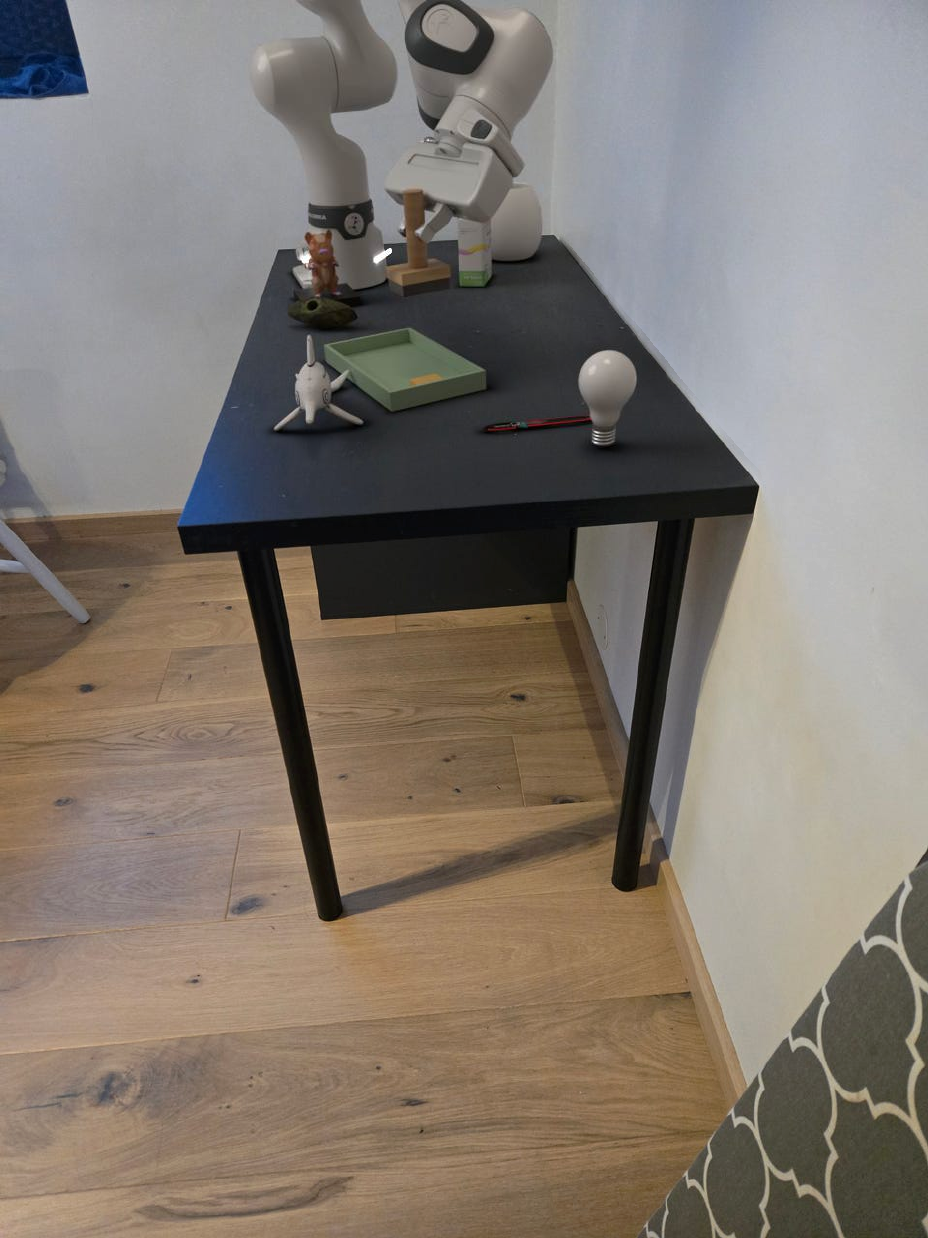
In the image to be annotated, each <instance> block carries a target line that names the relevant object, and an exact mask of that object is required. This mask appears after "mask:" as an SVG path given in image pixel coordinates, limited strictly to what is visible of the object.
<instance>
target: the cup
mask: <svg viewBox="0 0 928 1238" xmlns="http://www.w3.org/2000/svg"><path fill="white" fill-rule="evenodd" d="M534 189H535V188H534V187H533V185H532V184H530V183H527V182H520V181H519V182H518V181H516V182H515V181H513V183H512V186H511V188H510V190H509V192H508V194H507V196H506V197H505V199H504V201H503V202H502V204H501V206H500V207H499V209H498V210H497V212H496V213H495V215H494V216H493V217H492V218H491V260H494V261H501V262H517V261H522V260H526V259H530V258H531V257H533V255H535V254H536V252H537V251H538V249H539V248H540V247H539V246H540V244H541V241H542V238H543V215H542V214H543V213H542V206H541V203H540V201H539V197H538V195H537V193H536V191H535V190H534Z"/></svg>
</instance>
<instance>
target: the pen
mask: <svg viewBox="0 0 928 1238" xmlns="http://www.w3.org/2000/svg"><path fill="white" fill-rule="evenodd" d="M588 420H591V417H590V415H587V414H586V415H584V414H582V415H573V416H572V415H571V416H562V417H561V416H560V417H554V418H553V417H552V418H543V419H535V420H534V419H533V420H522V421H515V422H513V421H508V422H496V423H491V424H487V425H484V427H481V430H484V431H486V432H500V431H508V430H509V431H510V430H515V429H521V428H525V429H527V428H529V427H535V426H546V425H554V424H555V425H556V424H565V423H573V422H574V423H575V422H582V421H583V422H584V421H588Z"/></svg>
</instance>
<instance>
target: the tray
mask: <svg viewBox="0 0 928 1238" xmlns="http://www.w3.org/2000/svg"><path fill="white" fill-rule="evenodd" d="M323 350H324V357H325V363H326V364H328V365H329V366H331V367H332V368H333V369H334V370H336V371H337V372H339V374H341V375H342V374H343V373H344V372H345V371H347V370H349V373H348V376H347V377H346V379H348V380H349V381H350V382H352V383H353V384H354V385H355V386H356V387H358V388H359V389H361V390H362V391H363V392H365V393H366V394H367V395H369V396H370V397H372V398H373V399H374V400H376V401H377V402H378V403H379V404H381V405H382V406H383V407H385V408H386V409H387V410H389V411H390V412H391V413H392V412H397V411H400V410H405V409H409V408H414V407H418V406H421V405H425V404H430V403H434V402H438V401H442V400H446V399H447V400H448V399H451V398H455V397H459V396H463V395H467V394H472V393H475V392H479V391H484V390H486V389H487V370H486V369H484V368H483V367H480V366H479V365H477V364H475V362H472V361H470V360H469V359H467V358H465V357H463V356H461V355H459V354H458V353H456V352H454V351H452V350H451V349H448V348H447V347H445V346H444V345H441V344H440V343H438V342H437V341H435V340H434V339H431V338H429V337H428V336H426V335H424V334H422V333H421V332H418V331H417V330H415V329H414V328H412V327H405V328H401V329H394V330H390V331H385V332H381V333H376V334H375V333H374V334H370V335H366V336H365V335H364V336H360V337H356V338H351V339H345V340H339V341H336V342H331V343H326V344H323ZM431 374H437V375H439V376H440V377H442V378H443V379H439V380H435V381H431V382H426V383H422V384H418V385H413V386H410V379H414V378H418V377H422V376H427V375H431Z"/></svg>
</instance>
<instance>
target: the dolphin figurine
mask: <svg viewBox="0 0 928 1238" xmlns="http://www.w3.org/2000/svg"><path fill="white" fill-rule="evenodd" d="M306 358H307V360H306V361H307V362H306V363H305V364H304V365H303V366H302V367H301V369H300V371H299V373H295V375H294V376H295V378H296V382H295V385H294V394H295V395H294V396H295V401H296V404H297V407H296V408H295V409H294V410H293V411H292V412H290V413H289V414H288V415H287V416H286V417H284V418H283V419H282V420H281V421H280V422H278V424H276V425H275V426H274V427H273V430H274V432H279V431H280V430H282V429H283V428H285V427H287V425H289V424H290V423H292V422H293V421H295V420H296V419H298V418H299V417H300V416H301V415H302V414H304V413H305V422H306V424H307V425H313V424H314V421H315V416H316V414H317V412H318V411H320V410H322V409H324V410H326V411H327V412H329V413H330V414H332V415H333V416H336V417H338V418H340V419H342V420H343V421H347V422H349V423H352V424H355V425H358V426H361V425H363V424H364V420H362V419H361V418H359V417H357V416H355V415H353V414H351V413H350V412H347V411H345V410H344V409H341V408H340V407H338V406H336V405H335V404H332V403H331V399H332V393H334V392H337V391H338V390H339V389H340V387H341V386H342V385H343V384H344V383H345V381H346V379H347V378H346V377H347V376H348V373H349V370H347V371H345V372H344V373H343V374H341V375H339V376H338V377H337V378H335V379H334V380H332V381H331V378H330V375H329V374H328V372H327V371H326V369H325V366H324V365H323V364H321V362H318V361H316V356H315V349H314V343H313V337H312V335H311V334H308V335H307V337H306Z"/></svg>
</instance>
